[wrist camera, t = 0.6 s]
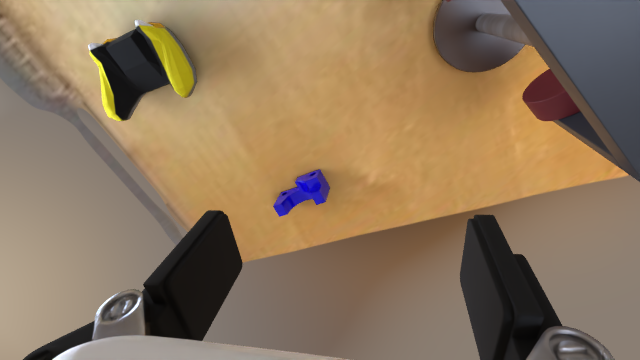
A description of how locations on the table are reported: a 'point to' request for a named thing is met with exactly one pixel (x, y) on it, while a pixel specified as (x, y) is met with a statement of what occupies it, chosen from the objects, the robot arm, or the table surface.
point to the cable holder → (303, 192)
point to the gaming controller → (141, 67)
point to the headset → (587, 71)
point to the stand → (476, 34)
